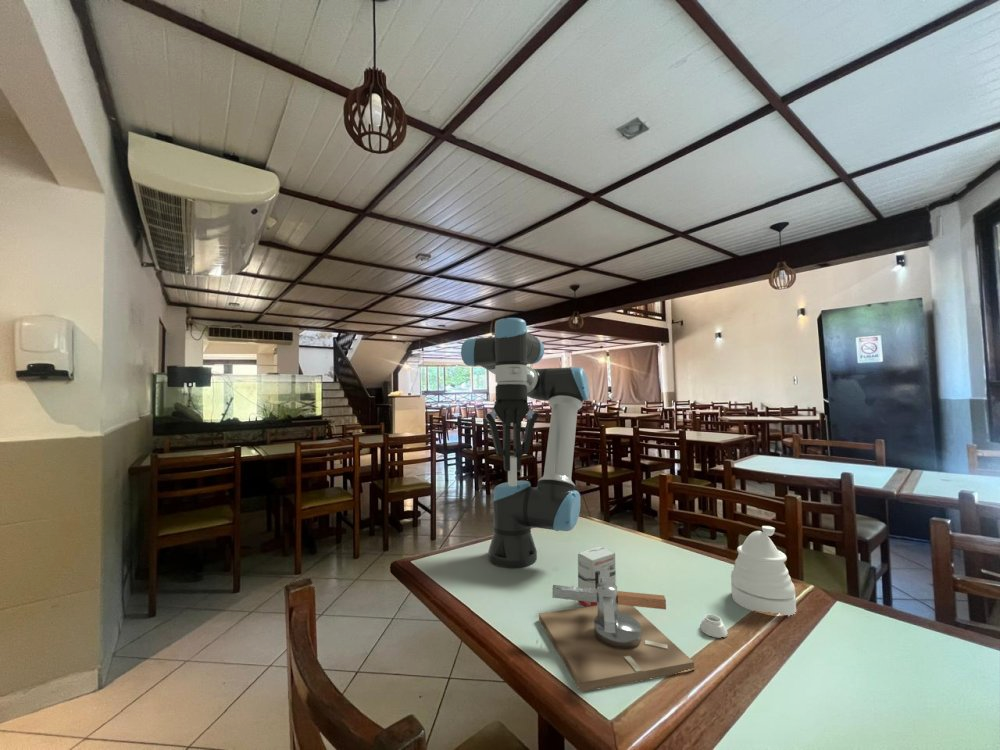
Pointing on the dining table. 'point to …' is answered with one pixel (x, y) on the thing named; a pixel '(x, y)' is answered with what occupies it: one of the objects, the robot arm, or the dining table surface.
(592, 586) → the ink box
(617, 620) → the capstan
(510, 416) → the robot arm
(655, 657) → the board
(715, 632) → the white round hollow piece
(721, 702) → the dining table surface
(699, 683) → the dining table surface
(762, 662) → the dining table surface
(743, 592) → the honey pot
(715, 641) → the dining table surface
